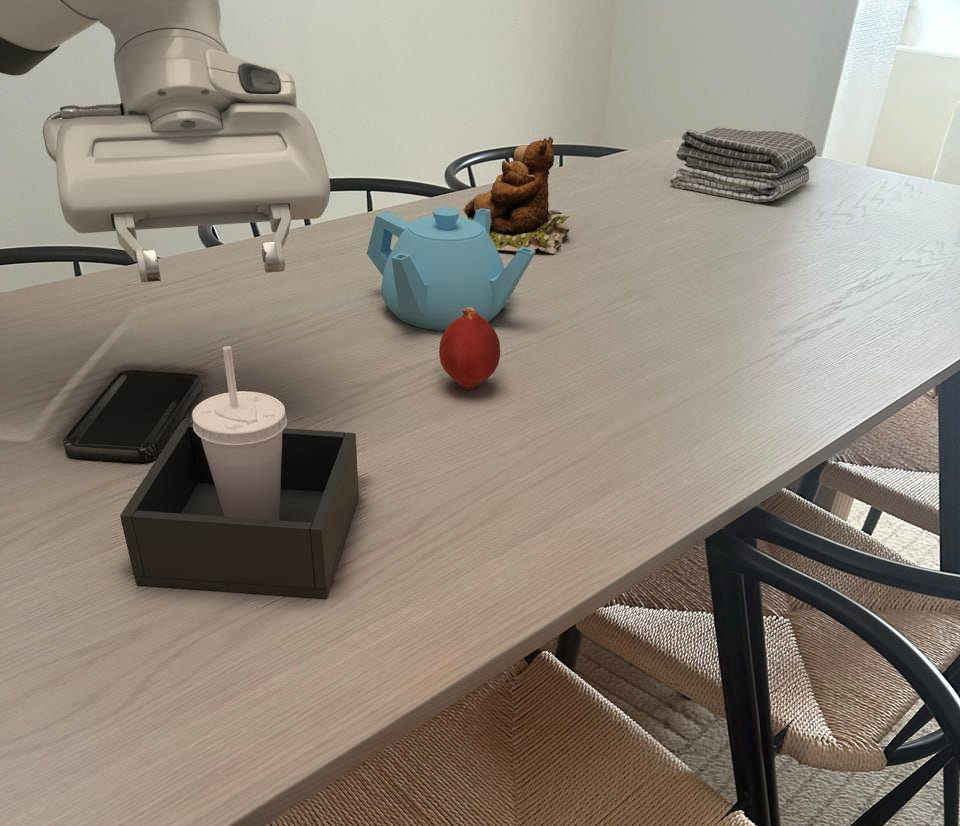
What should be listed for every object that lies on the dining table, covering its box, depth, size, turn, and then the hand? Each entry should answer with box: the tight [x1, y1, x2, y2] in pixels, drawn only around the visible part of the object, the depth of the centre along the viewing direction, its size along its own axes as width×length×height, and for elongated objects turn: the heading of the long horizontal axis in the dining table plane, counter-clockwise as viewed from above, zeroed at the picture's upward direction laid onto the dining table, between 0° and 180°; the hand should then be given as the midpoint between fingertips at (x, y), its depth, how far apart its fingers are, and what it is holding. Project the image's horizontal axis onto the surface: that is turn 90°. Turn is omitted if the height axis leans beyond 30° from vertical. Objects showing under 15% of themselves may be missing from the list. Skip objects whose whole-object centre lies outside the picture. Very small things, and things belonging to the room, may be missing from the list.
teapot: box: [366, 206, 536, 332], centre depth 107 cm, size 15×15×11 cm
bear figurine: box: [462, 136, 571, 254], centre depth 127 cm, size 14×15×12 cm
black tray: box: [119, 420, 360, 600], centre depth 73 cm, size 14×14×6 cm
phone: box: [62, 368, 203, 463], centre depth 88 cm, size 8×1×15 cm
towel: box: [669, 127, 818, 203], centre depth 151 cm, size 15×18×8 cm
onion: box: [438, 307, 501, 390], centre depth 93 cm, size 6×6×8 cm
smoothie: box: [191, 345, 288, 520], centre depth 70 cm, size 6×6×14 cm
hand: (214, 273), depth 76 cm, fingers open, 8 cm apart
